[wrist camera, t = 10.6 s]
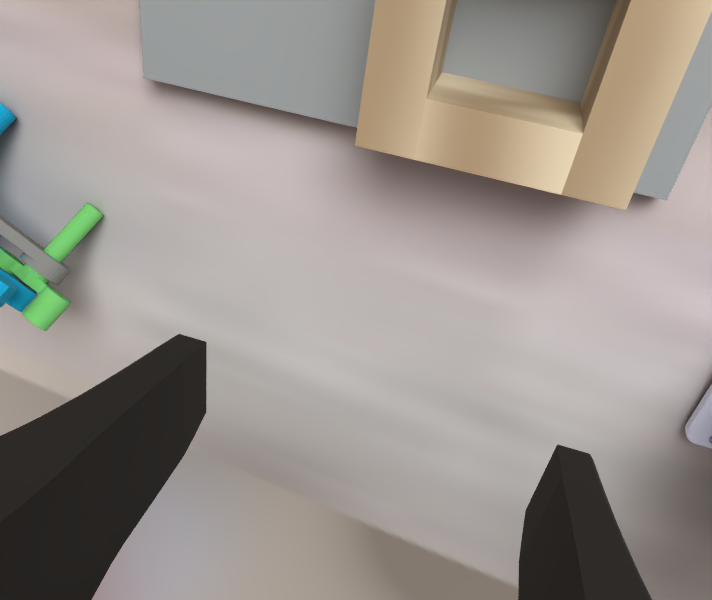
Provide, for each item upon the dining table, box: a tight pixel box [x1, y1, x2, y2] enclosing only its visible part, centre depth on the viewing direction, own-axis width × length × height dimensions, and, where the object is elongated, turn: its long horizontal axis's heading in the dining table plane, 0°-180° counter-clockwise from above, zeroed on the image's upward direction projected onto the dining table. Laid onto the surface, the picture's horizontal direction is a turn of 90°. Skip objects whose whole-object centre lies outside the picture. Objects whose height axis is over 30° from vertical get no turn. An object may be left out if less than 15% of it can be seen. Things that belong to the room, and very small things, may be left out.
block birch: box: [355, 0, 712, 210], centre depth 15 cm, size 7×7×2 cm
